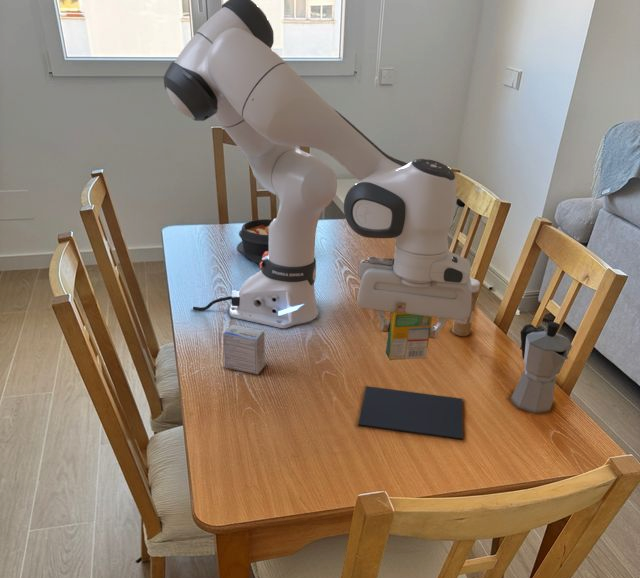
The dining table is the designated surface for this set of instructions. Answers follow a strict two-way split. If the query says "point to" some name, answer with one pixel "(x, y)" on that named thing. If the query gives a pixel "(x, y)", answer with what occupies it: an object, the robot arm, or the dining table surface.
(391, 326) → the crayon box
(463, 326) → the sprinkles bottle
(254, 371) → the medicine box
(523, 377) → the coffee maker
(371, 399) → the mat
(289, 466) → the dining table surface
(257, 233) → the casserole
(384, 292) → the robot arm
